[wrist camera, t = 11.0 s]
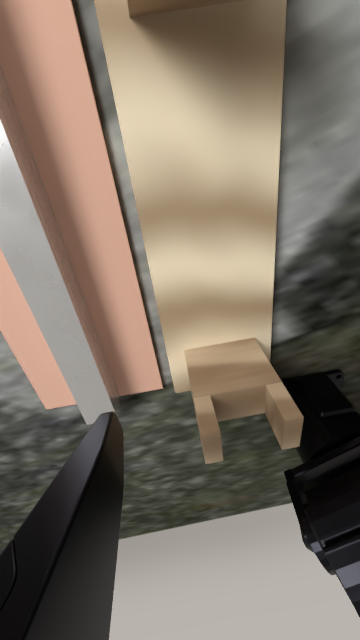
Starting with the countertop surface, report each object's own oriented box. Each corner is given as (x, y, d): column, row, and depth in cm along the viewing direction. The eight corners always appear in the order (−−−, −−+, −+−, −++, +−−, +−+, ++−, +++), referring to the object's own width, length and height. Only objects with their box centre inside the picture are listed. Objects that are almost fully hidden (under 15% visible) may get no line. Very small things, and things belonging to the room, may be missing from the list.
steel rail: (120, 395, 23) (117, 419, 21) (92, 400, 23) (86, 424, 21) (-66, -120, 10) (-124, -197, 7) (-135, -110, 9) (-212, -186, 7)
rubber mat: (162, 385, 23) (162, 388, 23) (47, 405, 23) (46, 409, 23) (43, -122, 10) (39, -133, 10) (-233, -84, 10) (-247, -94, 9)
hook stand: (264, 366, 24) (317, 460, 16) (174, 382, 23) (186, 485, 16) (280, -155, 10) (636, -995, 3) (69, -126, 10) (-146, -937, 3)
